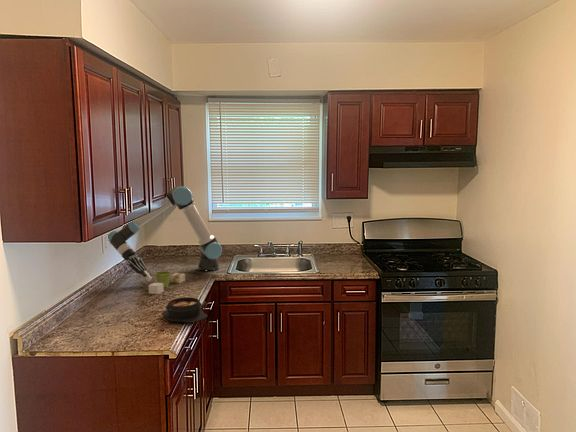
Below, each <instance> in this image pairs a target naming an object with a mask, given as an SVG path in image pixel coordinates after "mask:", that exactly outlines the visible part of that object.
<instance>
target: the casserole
mask: <svg viewBox="0 0 576 432" xmlns="http://www.w3.org/2000/svg"><path fill="white" fill-rule="evenodd" d="M202 305H203V304H202V303H201V301H200V300H199V298H196V297H189V296H188V297H179V298H173V299H171V300H169V301H168V302H167V305H166V306H165V310H164V311H162V312H161V315H162V316H163V317H164V319H166V320H167V321H169V322H170V321H171V322H175V323H189V324H190V323H197V322H200V321H203V320H205V319H207V318H208V314H206V313H205V312H204V311H203V310H202V309H201V308H202Z"/></svg>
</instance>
